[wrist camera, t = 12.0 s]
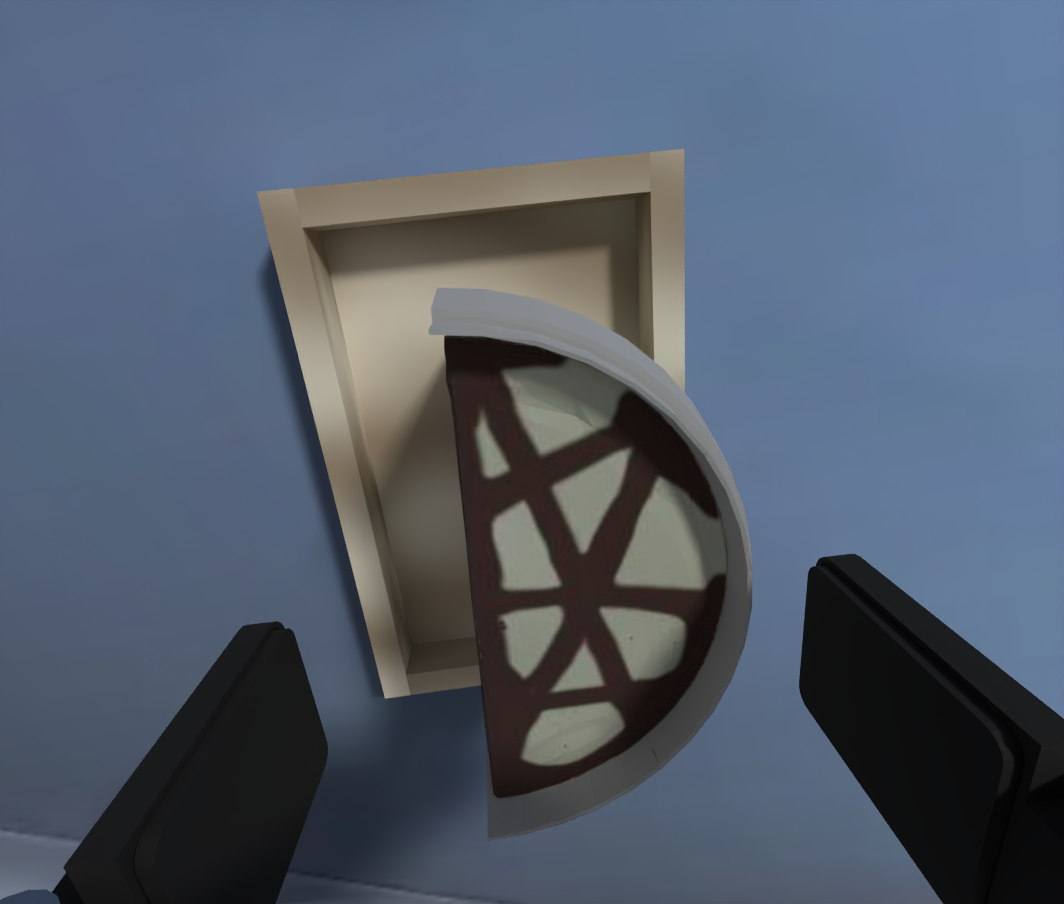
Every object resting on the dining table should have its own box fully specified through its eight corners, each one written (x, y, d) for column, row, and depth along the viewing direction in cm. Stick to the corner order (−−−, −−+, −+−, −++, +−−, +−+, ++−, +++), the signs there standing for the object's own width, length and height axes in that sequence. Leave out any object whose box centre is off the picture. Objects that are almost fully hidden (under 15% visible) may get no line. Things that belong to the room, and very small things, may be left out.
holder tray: (665, 618, 23) (685, 657, 21) (395, 654, 23) (384, 698, 21) (657, 164, 17) (684, 149, 15) (289, 202, 17) (256, 191, 14)
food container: (638, 583, 22) (752, 826, 12) (490, 596, 21) (489, 857, 12) (645, 267, 17) (823, 269, 8) (460, 278, 17) (423, 292, 8)
